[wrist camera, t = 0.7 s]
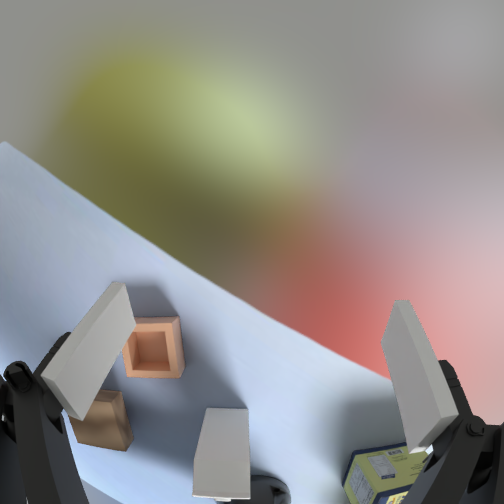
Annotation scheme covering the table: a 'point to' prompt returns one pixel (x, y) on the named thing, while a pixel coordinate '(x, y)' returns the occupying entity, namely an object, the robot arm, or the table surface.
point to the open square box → (155, 348)
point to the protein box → (382, 474)
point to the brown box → (105, 423)
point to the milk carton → (223, 456)
